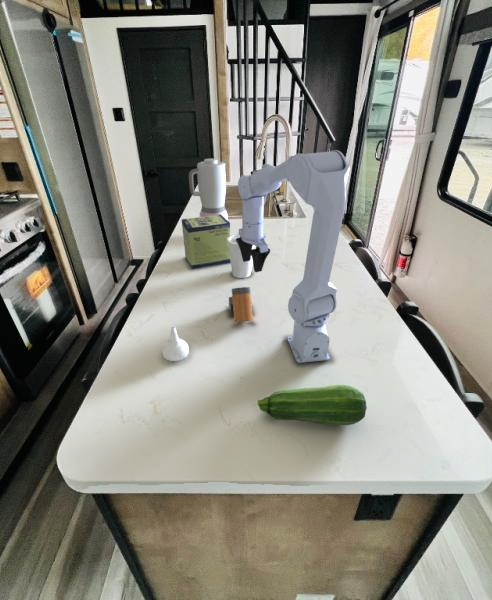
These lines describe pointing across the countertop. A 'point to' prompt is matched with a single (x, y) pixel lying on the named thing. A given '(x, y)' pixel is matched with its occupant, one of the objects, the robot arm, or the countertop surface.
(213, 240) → the protein box
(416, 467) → the countertop surface
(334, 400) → the vegetable
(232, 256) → the foam cup
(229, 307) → the prop block
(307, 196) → the robot arm
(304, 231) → the countertop surface
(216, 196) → the blender
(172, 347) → the garlic bulb
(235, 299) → the orange and grey block
